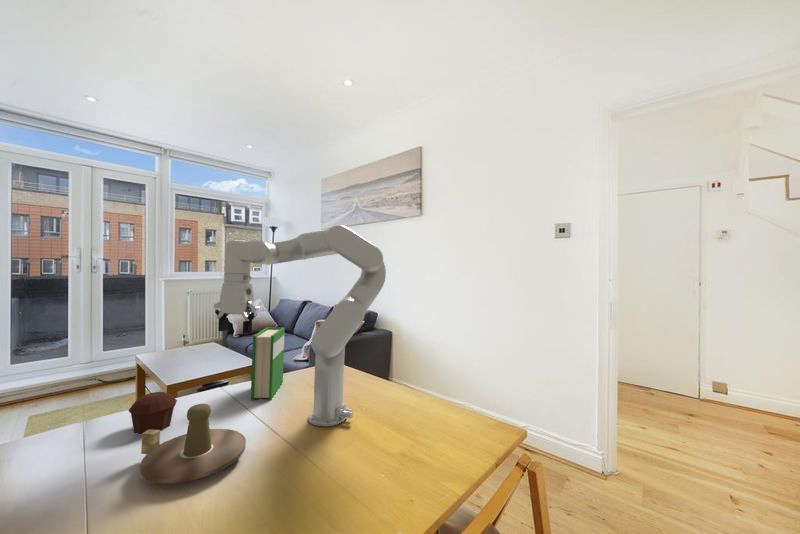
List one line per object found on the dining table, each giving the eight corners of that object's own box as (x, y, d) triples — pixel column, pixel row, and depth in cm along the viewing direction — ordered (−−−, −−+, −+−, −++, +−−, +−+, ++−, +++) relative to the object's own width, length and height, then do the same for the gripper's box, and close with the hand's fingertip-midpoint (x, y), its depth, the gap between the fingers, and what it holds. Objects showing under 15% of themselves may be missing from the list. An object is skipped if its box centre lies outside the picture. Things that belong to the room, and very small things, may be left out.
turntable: (244, 426, 94) (245, 409, 94) (247, 467, 75) (247, 445, 75) (146, 443, 84) (147, 424, 84) (119, 497, 64) (120, 471, 64)
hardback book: (271, 400, 119) (273, 335, 119) (250, 400, 118) (253, 335, 118) (282, 383, 136) (284, 327, 137) (264, 384, 135) (266, 327, 136)
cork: (198, 458, 76) (200, 412, 76) (176, 454, 77) (178, 409, 77) (217, 445, 82) (219, 402, 82) (197, 442, 83) (199, 399, 83)
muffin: (161, 416, 104) (162, 385, 104) (184, 422, 100) (185, 390, 100) (118, 432, 93) (119, 397, 93) (142, 440, 89) (143, 404, 89)
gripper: (267, 279, 104) (265, 332, 104) (225, 278, 109) (223, 327, 109) (250, 280, 97) (248, 336, 97) (206, 278, 102) (204, 331, 102)
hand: (235, 331), depth 103 cm, fingers open, 9 cm apart
